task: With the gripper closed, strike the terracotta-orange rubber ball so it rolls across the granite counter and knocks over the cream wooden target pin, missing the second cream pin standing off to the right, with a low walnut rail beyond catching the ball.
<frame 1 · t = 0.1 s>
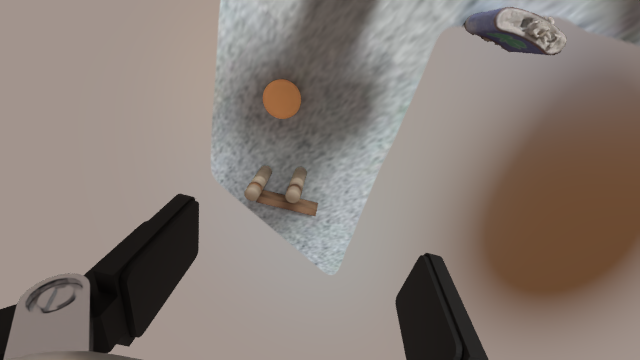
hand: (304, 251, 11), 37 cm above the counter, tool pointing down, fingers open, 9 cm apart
pin side: (265, 171, 51), on the counter
ball: (282, 99, 41), on the counter
flask: (493, 32, 37), on the counter
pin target: (300, 172, 50), on the counter
back rail: (288, 199, 54), on the counter
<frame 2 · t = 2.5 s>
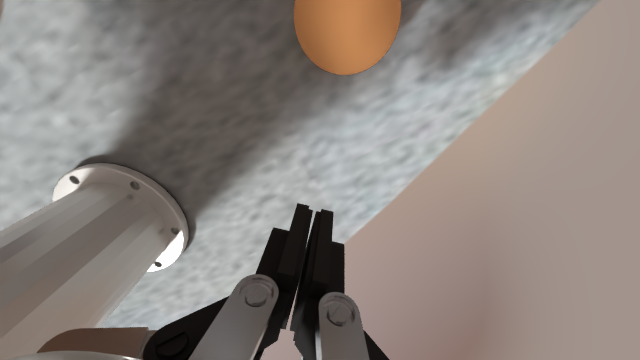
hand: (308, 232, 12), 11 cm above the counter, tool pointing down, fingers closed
ball: (346, 18, 15), on the counter
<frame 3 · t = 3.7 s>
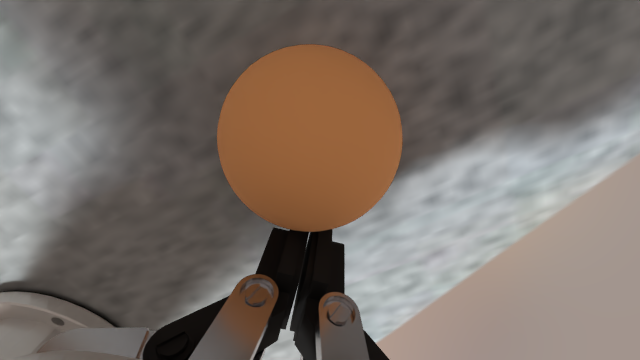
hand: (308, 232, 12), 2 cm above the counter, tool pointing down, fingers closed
ball: (310, 142, 9), on the counter
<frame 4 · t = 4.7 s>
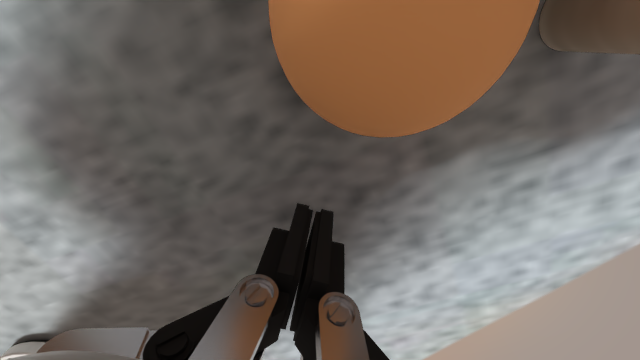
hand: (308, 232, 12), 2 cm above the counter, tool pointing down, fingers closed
pin side: (580, 10, 9), on the counter
ball: (389, 17, 7), on the counter
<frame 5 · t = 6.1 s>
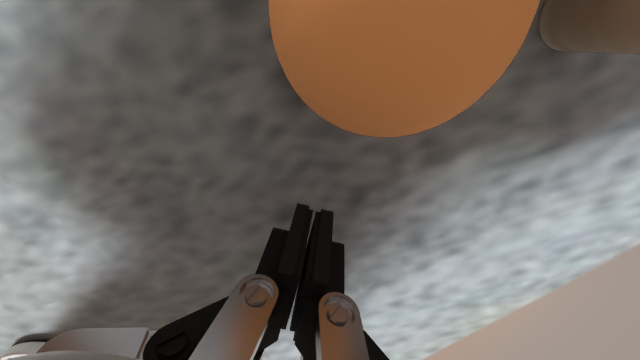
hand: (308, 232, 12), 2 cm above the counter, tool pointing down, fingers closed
pin side: (580, 10, 9), on the counter
ball: (389, 17, 7), on the counter
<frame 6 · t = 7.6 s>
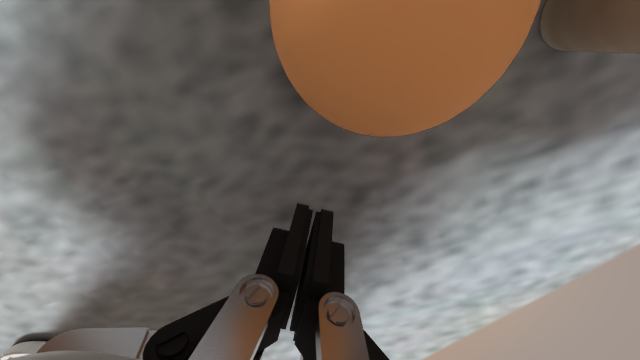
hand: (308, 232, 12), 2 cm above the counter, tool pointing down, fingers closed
pin side: (581, 10, 9), on the counter
ball: (390, 16, 7), on the counter
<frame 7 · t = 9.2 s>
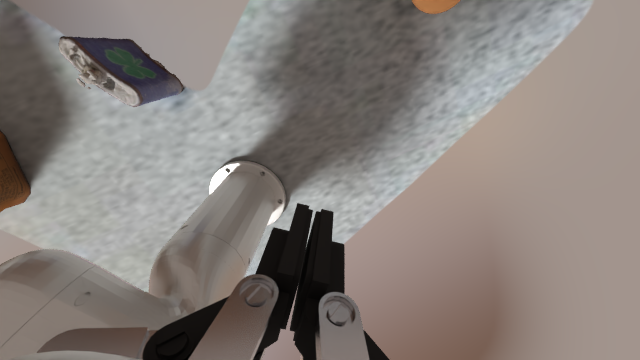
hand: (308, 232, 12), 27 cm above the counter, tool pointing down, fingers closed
flask: (153, 67, 36), on the counter
pancake mix bag: (11, 162, 45), on the counter
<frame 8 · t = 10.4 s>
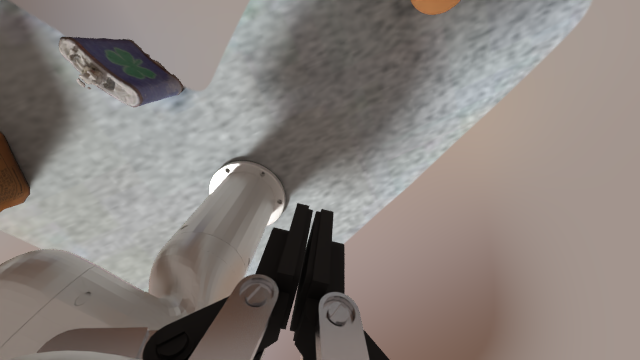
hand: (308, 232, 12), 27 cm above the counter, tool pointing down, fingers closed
flask: (153, 68, 36), on the counter
pancake mix bag: (10, 162, 45), on the counter
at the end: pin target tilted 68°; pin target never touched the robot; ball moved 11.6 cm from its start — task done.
